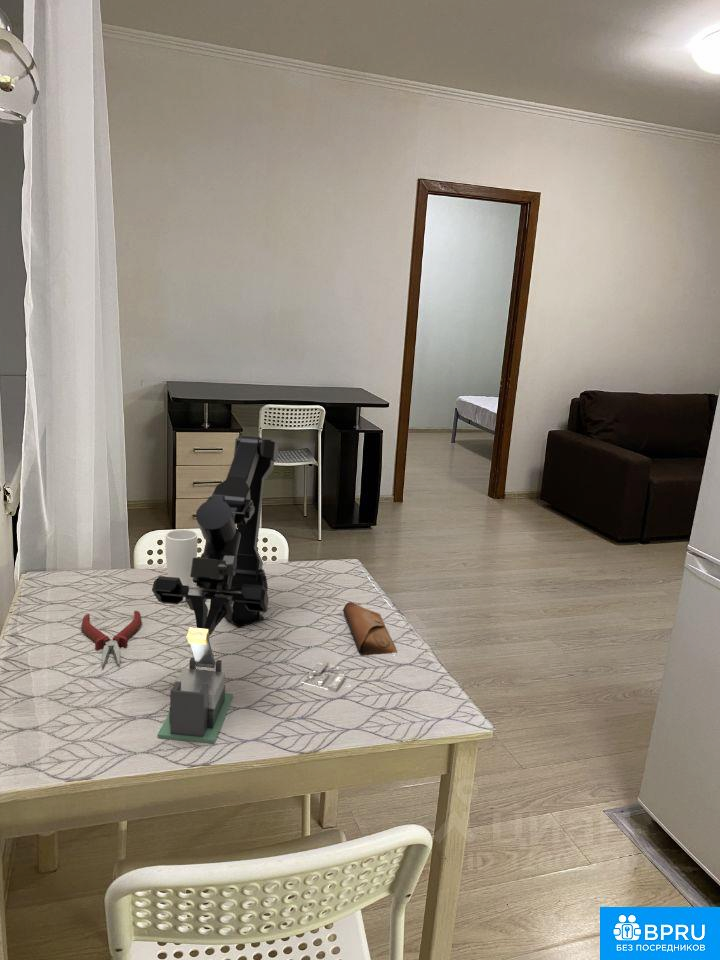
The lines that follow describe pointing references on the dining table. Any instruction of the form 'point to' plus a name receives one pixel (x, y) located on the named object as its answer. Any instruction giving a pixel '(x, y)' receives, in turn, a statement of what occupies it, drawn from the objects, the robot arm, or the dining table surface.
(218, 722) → the socket board
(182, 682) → the heat sink
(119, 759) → the dining table surface
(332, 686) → the clear plastic blister pack
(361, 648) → the sunglasses case
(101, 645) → the pliers
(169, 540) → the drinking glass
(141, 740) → the dining table surface
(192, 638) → the grey hinged lever
